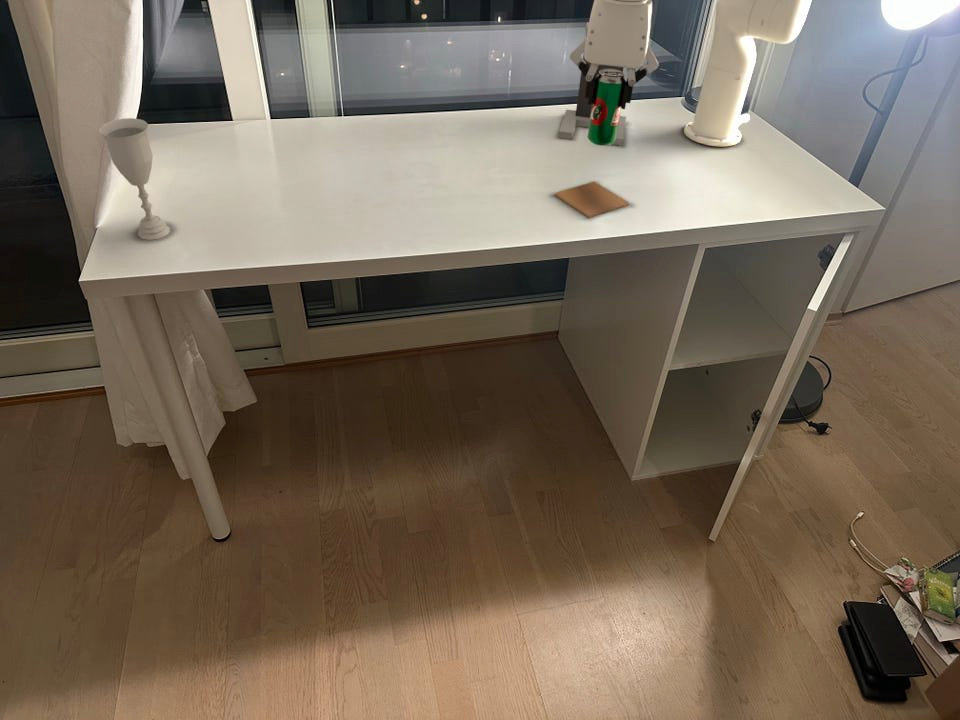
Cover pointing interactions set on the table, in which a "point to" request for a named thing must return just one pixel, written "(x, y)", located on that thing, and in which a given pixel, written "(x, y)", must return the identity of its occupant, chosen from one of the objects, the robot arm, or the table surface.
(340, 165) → the table surface
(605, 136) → the soda can
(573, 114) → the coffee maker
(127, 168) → the chalice
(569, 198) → the mat
